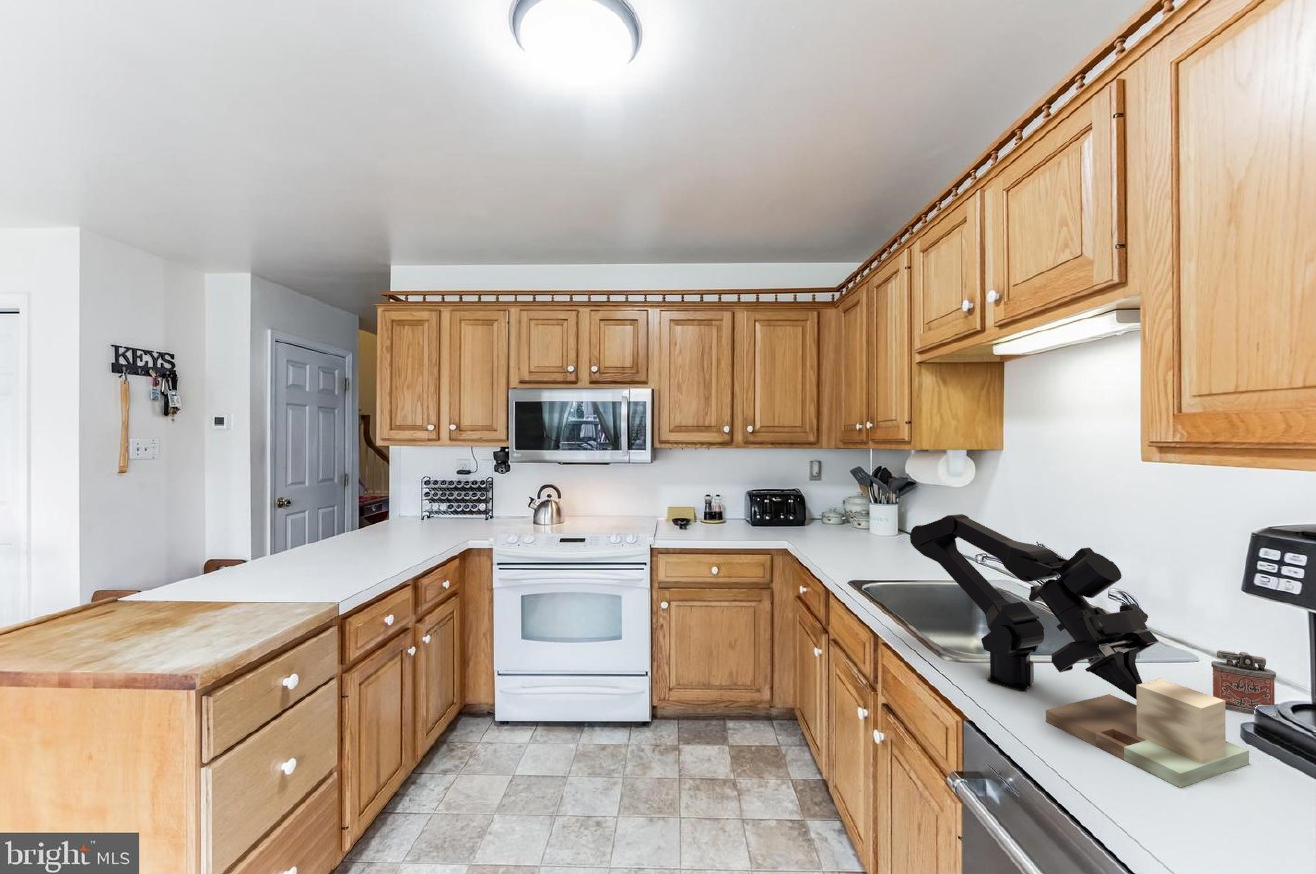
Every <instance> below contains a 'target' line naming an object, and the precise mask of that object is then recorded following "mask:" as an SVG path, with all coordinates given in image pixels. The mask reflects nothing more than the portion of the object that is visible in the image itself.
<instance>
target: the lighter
mask: <svg viewBox="0 0 1316 874" xmlns="http://www.w3.org/2000/svg"><path fill="white" fill-rule="evenodd" d="M1216 658H1218V659H1221V660H1226V661H1216V660H1215V661H1213V660H1212V661H1211V662H1210V663H1211V668H1212V696H1213V697H1216V698H1219V699H1222V700H1225V710H1226V711H1227V710H1228V711H1232V712H1237V713H1241V714H1248V715H1253V714H1254V710H1255V707H1256V706H1258V705H1275V704H1276V703H1275V695H1276V694H1275V679H1276V678H1277V672H1276V671H1274V670H1272V669H1270V668H1266V665H1267V659H1266V658H1265V657H1263V656H1259V655H1258V656H1257V655H1250V653H1248V652H1247V651H1240V652H1238V653H1236V652H1235V651H1227V650H1219V649H1218V650H1217V651H1216ZM1256 664H1257V665H1256Z"/></svg>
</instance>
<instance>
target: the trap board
mask: <svg viewBox="0 0 1316 874" xmlns="http://www.w3.org/2000/svg"><path fill="white" fill-rule="evenodd" d="M1045 722H1046V723H1048V724H1050V725H1053V726H1054V727H1057V728H1058V729H1060V730H1062V731H1064V732H1067V733H1069V734H1070V735H1072V736H1075V737H1076V738H1079V739H1081V740H1083V741H1085V742H1087V743H1089V744H1091V745H1093V746H1094V747H1097V748H1099V749H1101V750H1103V751H1105V752H1107V753H1109V754H1111V755H1113V756H1115V757H1117V758H1119V759H1121V760H1123V761H1126V762H1128V763H1129V764H1131V765H1134V766H1135V767H1137V768H1140V769H1141V770H1143V771H1146V772H1147V773H1149V774H1152V775H1153V776H1156V777H1157V778H1160V779H1161V780H1164V781H1166V782H1168V783H1170V784H1172V785H1174V786H1176V787H1178V788H1184V787H1186V786H1191V785H1193V784H1195V783H1198V782H1201V781H1204V780H1207V779H1210V778H1213V777H1215V776H1218V775H1221V774H1223V773H1227V772H1229V771H1232V770H1235V769H1238V768H1241V767H1244V766H1246V765H1249V764H1250V750H1249V749H1246V748H1244V747H1241V746H1239V745H1237V744H1234V743H1232V742H1229V741H1226V755H1224V756H1221V757H1219V758H1216V759H1214V760H1211V761H1209V762H1206V763H1204V764H1200V763H1198V762H1196V761H1193V760H1191V759H1189V758H1186V757H1184V756H1182V755H1180V754H1177V753H1175V752H1173V751H1170V750H1168V749H1166V748H1163V747H1161V746H1159V745H1157V744H1154V743H1152V742H1150V741H1147V740H1145V739H1143V738H1140V737H1138V736H1137V704H1135V703H1132V702H1129V701H1128V700H1125V699H1123V698H1120V697H1118V696H1116V695H1113V694H1110V693H1108V694H1105V695H1100V696H1096V697H1092V698H1087V699H1084V700H1080V701H1076V702H1073V703H1068V704H1064V705H1060V706H1056V707H1052V708H1049V709H1045Z"/></svg>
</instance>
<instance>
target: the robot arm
mask: <svg viewBox="0 0 1316 874" xmlns="http://www.w3.org/2000/svg"><path fill="white" fill-rule="evenodd" d="M958 538H959V539H961V540H963V541H965V542H966V543H969V544H970V545H972V546H974V547H975V548H977V549H979V550H981V551H984V552H985V553H987V554H988V555H991V556H992V557H994V558H996V559H997V560H998V561H1000V562H1001V564H1002V565H1003V567H1004V569H1005V570H1006V571H1008V572H1010V574H1012V575H1013V576H1015V577H1016V578H1017V579H1019V580H1020V581H1022V582H1028V583H1029V582H1036V581H1042V580H1043V581H1044V580H1046V581H1044V582H1043V583H1042V584H1041V585H1032V586H1030V593H1029V595H1028V600H1029V601H1030V602H1031V603H1032V602H1038V601H1043V602H1044V604H1045V605H1046V606H1047V608H1048V609H1049V611H1051V614H1052V615H1053V616H1054V617H1055V618H1056V619H1057V621H1058V622H1059V624H1057V625H1056V627H1057V629H1058V630H1059V632H1064V631H1065V632H1067V633H1068V635H1069V636H1070V637H1071V639H1072V640H1073V641H1071V642H1068V643H1067V644H1065V645H1064V646H1063V647H1061V648H1059V649H1057V650H1056V651H1054V652H1053V653H1052V654H1051V663H1052V664H1053V666H1054V667H1055V669H1056V671H1057V672H1058V673H1059V674H1060V673H1063V672H1069V671H1072V670H1073V669H1074V665H1075V664H1077V663H1078V662H1081V661H1085V660H1087V663H1088V664H1089V666H1087V667H1086V668H1084V671H1086V672H1087V673H1092V674H1093V675H1095V676H1097V677H1099V678H1101V680H1104V681H1106V682H1107V683H1109V684H1111V685H1113V686H1114V687H1116V688H1117V689H1119V690H1120V691H1122V692H1124V693H1125V694H1126V695H1128V696H1130V697H1131V698H1133V699H1134V700H1136V701H1137V689H1136V685H1138V684H1142V683H1143V680H1142V678H1141V676H1140V673H1139V671H1138V668H1137V664H1136V660H1137V655H1138V654H1140V653H1142V652H1143V651H1145V650H1147V649H1148V648H1150V647H1152V646H1154V645H1155V644H1158V643H1159V639H1158V638H1157V637H1156V636H1155V634H1153V633H1152V631H1151V630H1148V629H1149V628H1148V626H1147V625H1146V624H1147V623H1146V622H1147V621H1148V619H1149V615H1148V614H1147V613H1146V612H1145V611H1144V610H1142V608H1140V606H1138V604H1136V603H1135V602H1134V603H1127V604H1121V605H1119V611H1116V612H1110V613H1107V612H1106V611H1105V610H1104V609H1103V608H1101V607H1100V606H1097V607H1092V605H1091V604H1090V603H1089V602H1088V601H1087V599H1086V598H1088V599H1094V598H1095V597H1097V596H1098V595H1100V594H1101V593H1103V592H1104V591H1106V590H1107V589H1109V588H1110V587H1111V586H1113V585H1114V584H1116V583H1118V582H1119V581H1120V580H1121V579H1122V572H1121V570H1120V568H1119V567H1118V566H1117V565H1116V563H1115V562H1114V561H1112V560H1110V559H1108V558H1107V557H1106V556H1105V555H1102V554H1100V553H1097V552H1095V551H1094V550H1093V549H1092V548H1091V547H1081V548H1079V550H1077V551H1075V554H1074V555H1072V556H1071V557H1070V558H1069V559H1066V558H1064V557H1060V556H1058V555H1057V554H1056V552H1054V551H1053V550H1051V549H1049V548H1046V547H1043V546H1039V545H1036V544H1033V543H1027V542H1021V541H1019V540H1013V539H1011V538H1010V537H1008V536H1007V535H1004V534H1002V533H999V532H998V531H996V530H993V529H991V528H989V527H988V526H985V525H983V524H981V523H979V522H977V521H975V520H973V519H971V518H970V517H969V516H968V515H966V514H962V513H961V514H960V513H959V514H949V515H945V516H944V517H942V518H940V519H938V520H934V521H932V522H929V523H927V524H921V525H915V526H913V528H912V529H911V531H910V534H909V540H910V541H909V542H910V544H911V545H912V547H913V548H914V549H915V550H916V551H918V552H919V553H920V554H921V555H922V556H924V557H926V558H928V559H930V560H933V561H934V562H937V564H939V565H940V566H941V567H942V568H943V569H944V571H945V572H946V573H947V574H948V575H949V576H950V577H951V578H952V579H953V580H954V582H955V583H956V584H957V585H958V586H959V587H960V588H961V589H962V590H963V591H964V592H965V593H966V595H967V596H969V598H970V599H971V600H972V602H973V603H975V605H976V606H977V607H978V608H979V609H980V610H981V612H982V613H983V614H984V615H985V619H986V625H987V628H988V630H989V632H988V633H987V634H985V635H984V636H983V637H981V638H980V641H981V643H982V647H983V650H984V651H987V652H989V664H990V665H989V667H990V668H989V669H990V670H989V673H990V674H989V676H988V677H987V682H989V683H992V684H995V685H999V686H1003V687H1006V688H1009V689H1014V690H1016V691H1020V692H1027V690H1028V689H1029V687H1032V685H1033V684H1034V683H1035V681H1034V680H1035V678H1034V677H1035V676H1034V675H1035V673H1034V672H1035V671H1034V670H1035V669H1034V661H1033V660H1031V653H1036V652H1037V651H1038V649H1039V646H1040V645H1042V643H1043V642H1044V639H1045V632H1044V631H1045V627H1044V625H1043V624H1042V622H1041V621H1040V620H1039V619H1040V616H1038V615H1037V614H1035V613H1034V612H1033V611H1032V610H1031V609H1030V607H1028V605H1027V604H1026V603H1025V602H1023V601H1017V602H1016V601H1015V602H1010V601H1008V600H1007V599H1006V598H1004V596H1003V595H1002V594H1001V593H1000V592H998V590H997V589H996V588H995V587H994V586H993V585H992V584H991V582H989V581H988V579H986V578H985V576H983V575H982V573H980V571H979V570H977V569H976V567H975V566H974V565H973V564H972V563H971V562H970V561H969V560H968V559H967V558H966V557H965V556H964V555H963V554H962V553H961V552H960V551H959V550H958V546H957V541H956V540H957V539H958ZM1057 576H1059V577H1058V578H1056V577H1057ZM1054 578H1056V579H1054Z"/></svg>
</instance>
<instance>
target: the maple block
mask: <svg viewBox="0 0 1316 874" xmlns="http://www.w3.org/2000/svg"><path fill="white" fill-rule="evenodd" d="M1136 689H1137V700H1136V705H1137V736H1138V737H1140V738H1143V739H1145V740H1147V741H1150V742H1152V743H1154V744H1157V745H1159V746H1161V747H1163V748H1166V749H1168V750H1170V751H1173V752H1175V753H1177V754H1180V755H1182V756H1184V757H1186V758H1189V759H1191V760H1193V761H1196V762H1198V763H1200V764H1204V763H1206V762H1209V761H1211V760H1214V759H1216V758H1219V757H1221V756H1224V755H1226V736H1227V734H1226V733H1227V732H1226V730H1227V729H1226V709H1225V700H1222V699H1219V698H1216V697H1213V695H1210V694H1208V693H1204V692H1200V691H1198V690H1196V689H1192V688H1190V687H1187V686H1183V685H1181V684H1177V683H1175V682H1172V681H1169V680H1166V679H1163V678H1156V679H1153V680H1150V681H1147V682H1146V681H1145V682H1142V684H1138V685H1136Z"/></svg>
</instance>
